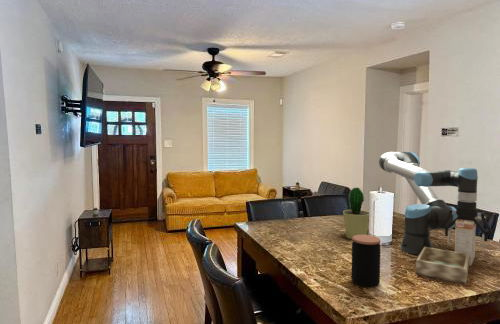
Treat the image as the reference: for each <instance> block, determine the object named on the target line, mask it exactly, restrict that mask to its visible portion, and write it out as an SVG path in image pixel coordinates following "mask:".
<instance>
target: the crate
mask: <svg viewBox="0 0 500 324" xmlns="http://www.w3.org/2000/svg"><path fill="white" fill-rule="evenodd" d="M417 256H418V257H416V258H417V259H416V261H415V263H416V264H415V274H416V275H419V276H422V277H428V278H434V279H439V280H441V281H442V280H443V281H448V282H452V283H458V284H463V285H467V281H468V275H469V267H470V266H469V254H466V253H460V252H455V250H454V251H452V250H447V249H440V248H435V247H433V248H429V247H424V248H423V250H422V251H421V253H420V255H417Z"/></svg>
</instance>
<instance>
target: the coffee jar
mask: <svg viewBox="0 0 500 324" xmlns="http://www.w3.org/2000/svg"><path fill="white" fill-rule="evenodd" d="M351 240H352V243H351V277H350V278H351V280H352V282H353V284H355V285H357V286H358V287H361V288H366V289H367V288H369V289H370V288H372V289H373V288H376V287H377V286H379V284H380V283H381V282H380V281H381V278H380V277H381V248H382V246H381V244H380V243H381V238H379V237H377V236H375V235H371V234H370V235H369V234H367V235H355V236H353V237H352V239H351Z"/></svg>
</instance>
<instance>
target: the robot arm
mask: <svg viewBox="0 0 500 324" xmlns="http://www.w3.org/2000/svg"><path fill="white" fill-rule="evenodd" d="M420 164H421V163H420V158H419V155H417V154H416V153H415V152H413V151H388V152H385V153H383V154H382V155H381V156H380V158H379V160H378V165H379V167H380V168H381V170H383V171H384V172H387V173H394V174H396V175H398V176H400V177H402V178H403V177H404V178H405V180H406V181H407V183H408V184H409V186H410V188H411V189H412V192H414V194H415V195H416V197H417V199H418V200H419V202H420V203H415V204H410V205H407V206H406V207H405V210H404V234H403V237H402V240H401V242H400V251H402V252H404V253H408V254H412V255H417V256H419V255H420V253H421V251H422V250H423V248H424V247H429V248H434V246H433V244H432V243H433V242H432V241H431V237H430V236H431V230H432V231H433V230H436V231H437V230H445V232H444V236H445V237H447V244H448V245H449V244H450V243H451V229H453V228H454V229H455V222H456V220H457V219H459V220H460V219H462V220H471V221H474V223H475V224H476V227H478V228H479V230H480V231H481V232H482V235H481V237H482V238H481V239H482V240H481V250H484V249H485V242H486V243H487V242H488V236H489V235H492V234H493V230H492V228H491V226H490V224H489V223H488V221H487V219H486V217H485V216H486V215H485V212H484V211H483V212H477V199H478V193H477V192H478V169H476V168H473V167H459V168H458V171H455V170H450V169H447V170H446V169H443V170H428V169H424V168H422V167H420ZM432 187H456V188H457V203H456V204H457V207H456V208H455V207H454V206H451V205H447V203H446V201H445V200H444V199H440V198H439V197H438V196H437V194H436V193H435V191H434V190H433V188H432ZM477 217H479V218H480V219H481V220H482V222H483V225H484V226H485V228H486V229H487V230H486V229H485V228H484V227H483V225H482V224H481V223H480V222H479V221H478V219H477ZM475 218H476V219H475Z"/></svg>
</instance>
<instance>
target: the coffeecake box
mask: <svg viewBox="0 0 500 324" xmlns="http://www.w3.org/2000/svg"><path fill="white" fill-rule="evenodd" d="M475 219H476V220H477V217H475ZM454 229H455V230H454V231H455V232H454V252H460V253H466V254H469V267H470V266H472V265H473V263H474V260H475V257H476V252H475V251H476V230H477V225H476V224H475V223H474V221H471V220H462V219H460V220H459V219H457V220H456V222H455V227H454Z"/></svg>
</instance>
